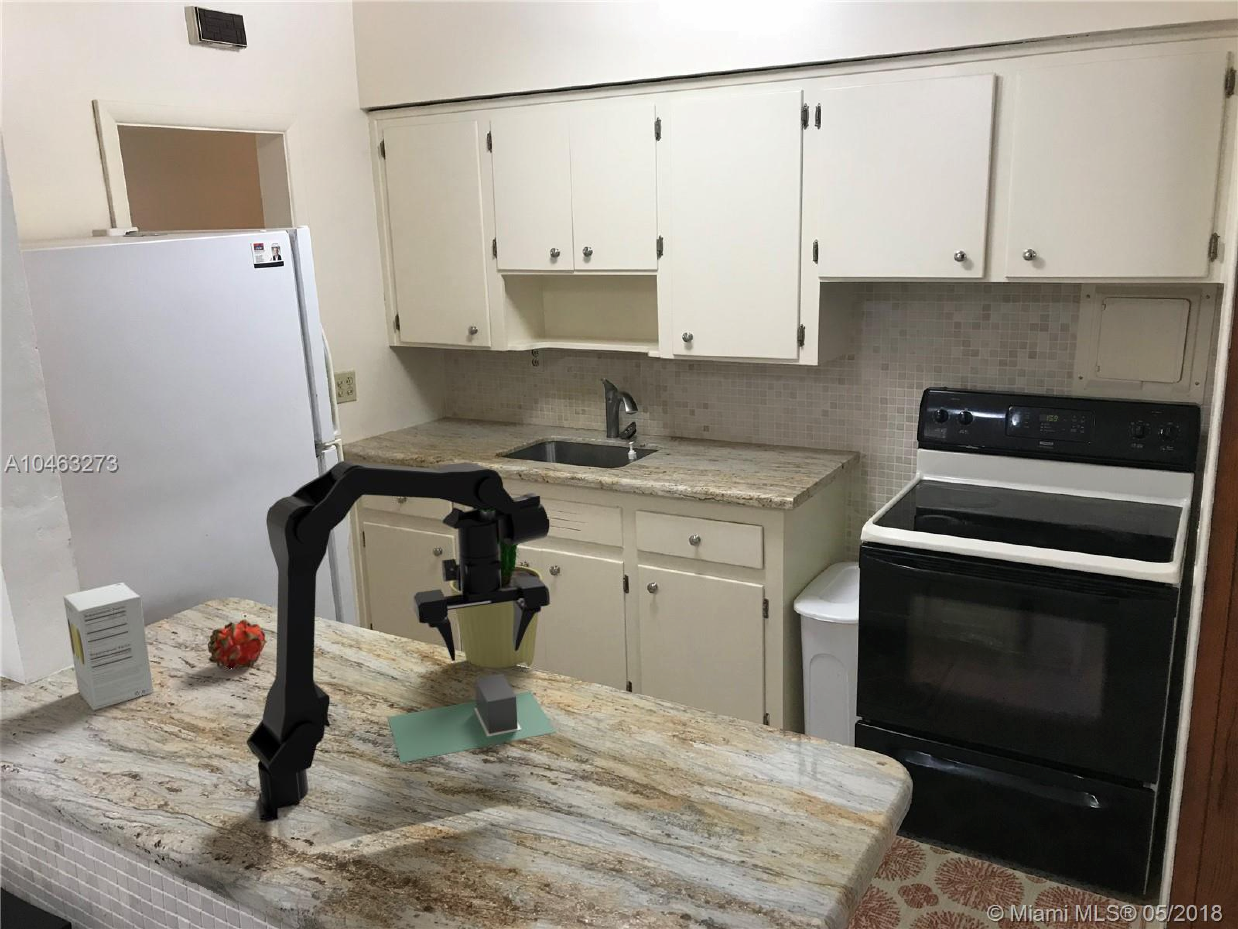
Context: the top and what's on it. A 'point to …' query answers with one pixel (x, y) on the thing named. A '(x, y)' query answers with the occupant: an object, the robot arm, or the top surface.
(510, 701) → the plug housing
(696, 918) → the top surface
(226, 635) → the dragon fruit
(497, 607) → the potted cactus
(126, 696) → the supplement box
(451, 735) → the board
